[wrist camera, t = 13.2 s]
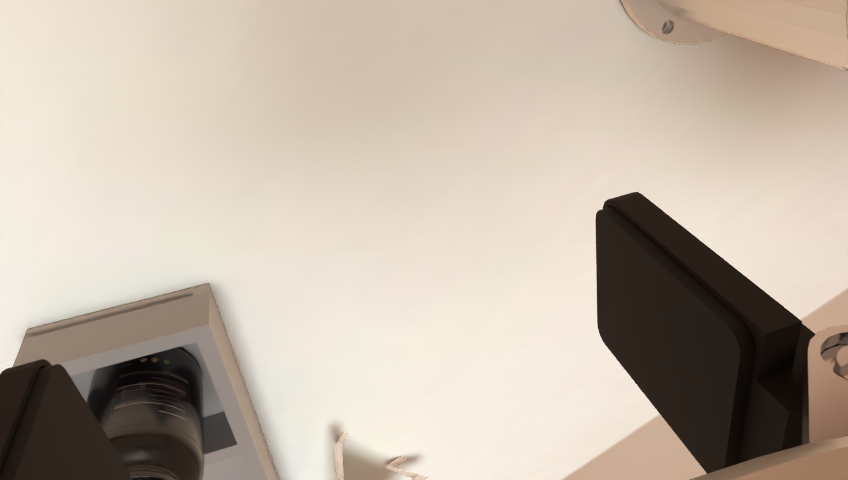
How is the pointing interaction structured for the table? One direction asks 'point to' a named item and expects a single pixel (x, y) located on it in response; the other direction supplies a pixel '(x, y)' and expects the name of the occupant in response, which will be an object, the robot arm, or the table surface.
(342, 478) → the origami figure
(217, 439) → the divided tray
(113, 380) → the supplement bottle
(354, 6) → the table surface
